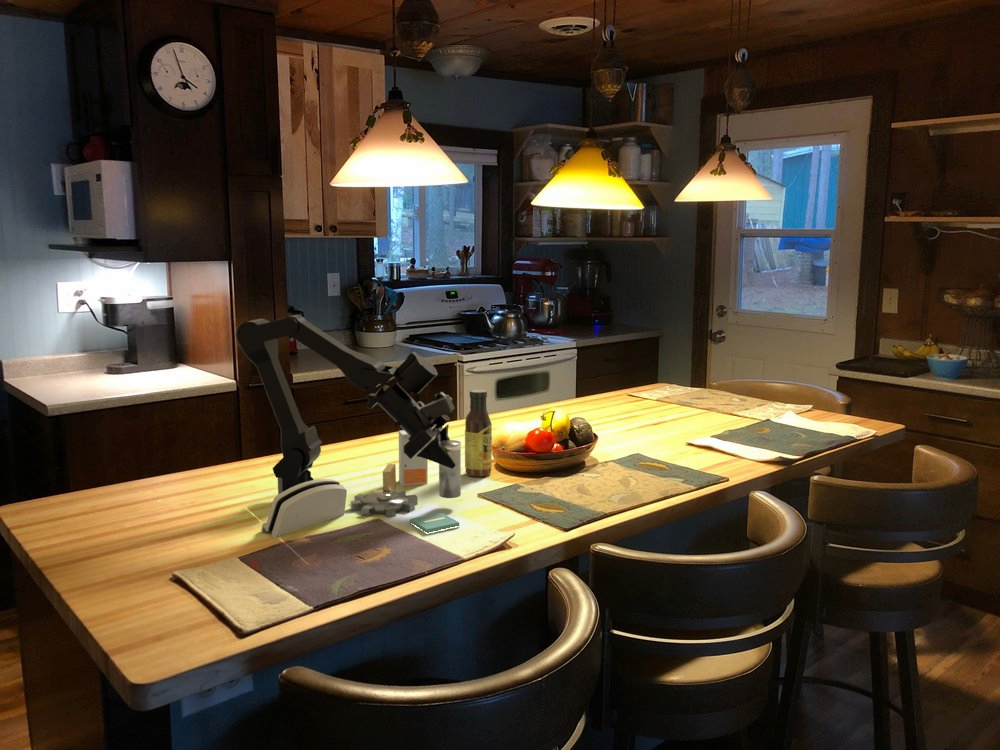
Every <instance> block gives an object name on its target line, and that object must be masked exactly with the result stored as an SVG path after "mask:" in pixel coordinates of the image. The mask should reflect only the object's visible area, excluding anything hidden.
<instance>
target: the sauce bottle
mask: <svg viewBox="0 0 1000 750" xmlns="http://www.w3.org/2000/svg"><path fill="white" fill-rule="evenodd" d="M487 397H488V391H487V389H486V390H485V389H472V390H469V399H470V401H469V402H470V405H469V409H470V410H469V412H468V413H467V415H466V416H465V422H464V423H465V430H464V467H465V474H466V475H467V476H469V477H473V478H474V477H475V478H482V477H486V476H489V475H491V473H492V467H493V466H492V457H493V456H492V448H493V446H492V444H493V443H492V442H493V441H492V436H493V435H492V429H493V427H492V421H491V419H490V416H489V413H488V409H487V408H488V407H487Z"/></svg>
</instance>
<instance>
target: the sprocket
mask: <svg viewBox="0 0 1000 750" xmlns="http://www.w3.org/2000/svg"><path fill="white" fill-rule="evenodd" d="M396 468H397V467H396V463H387V465H386V466H385V468H384V469H383V471H382V489H375V490H373V493H368V494H364V493H358V494H356V495H354V497H353V498H354V500H350V501H349V503H350V510H351V512H354V511H355V512H356V511H361V512H360V513H361V516H364V517H368V518H369V517H371V516H372V515H385V516H386V518H388V517H389V518H390V517H396V515H397V514H396V513H400V512H406V513H409V512H408V511H411V512H413V511H414V510H415V509H416V505H418V496H417V495H416V494H409V495H407V494H406V493H407V492H406V490H401V489H397V490H395V489H396V488H397V487H396V486H397V479H396V478H397V477H396V476H397V475H396V474H397V473H396V472H397V471H396V470H397V469H396ZM394 490H395V491H394ZM412 510H413V511H412Z"/></svg>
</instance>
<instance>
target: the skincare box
mask: <svg viewBox="0 0 1000 750" xmlns="http://www.w3.org/2000/svg"><path fill="white" fill-rule="evenodd" d="M409 438H410V436H409V435H408V434H407V433H406V432H405V431H404V430H403V429H402V430H398V481H399V482H400V484H401V486H402V487H403V486H414V485H415V486H416V485H428V484H429V483H428V482H429V481H428V472H429V471H428V459H425V458H422V457H417V455H418V454H419V453H420V452H421V450H420V451H419V452H417V453H416V454H415V455H414V456H413V457H412V458H411V459H410V458H409V457H408V456H407V455H406V454H405V453H404V445H405V444H406V443H407V442H408V441H409Z"/></svg>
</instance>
